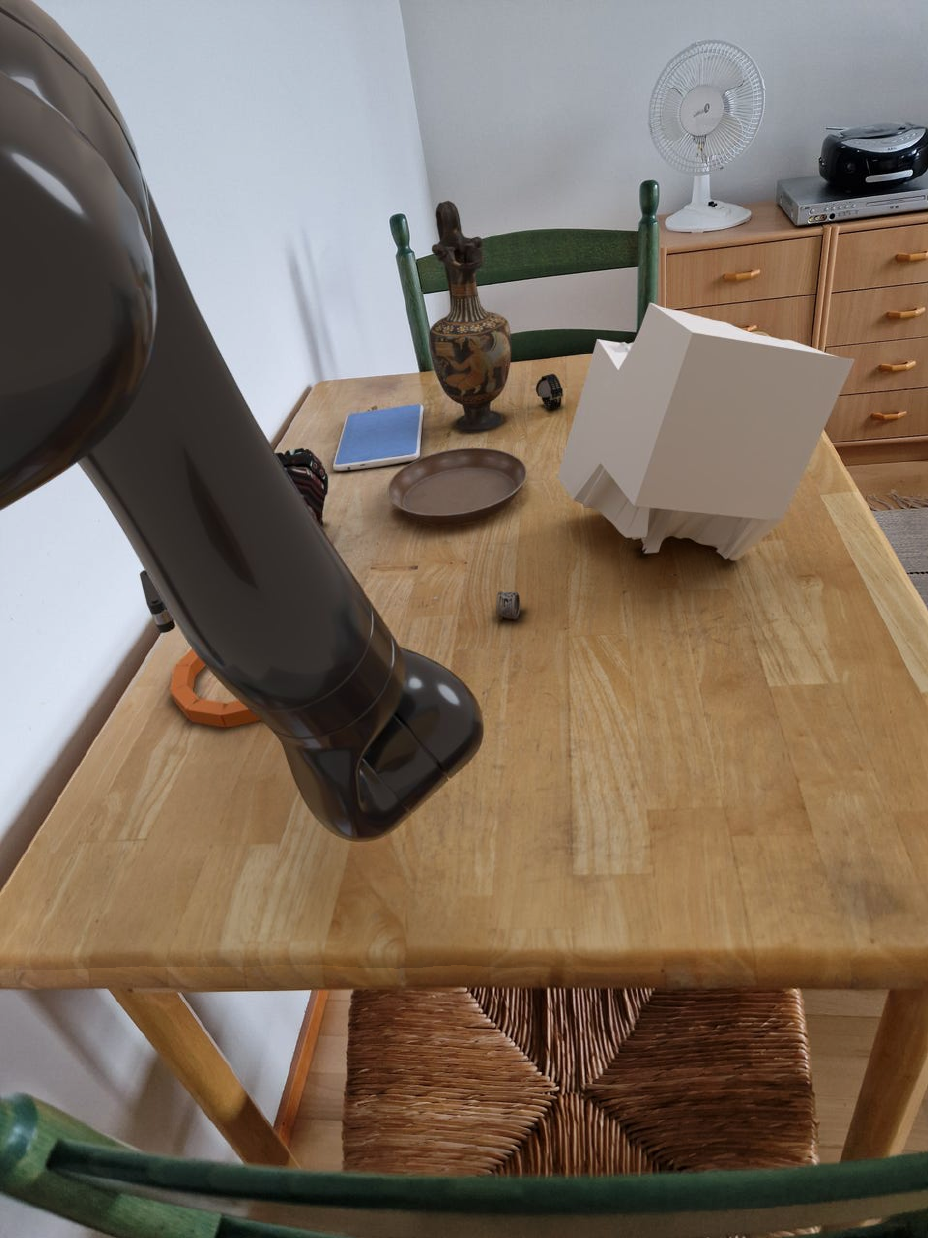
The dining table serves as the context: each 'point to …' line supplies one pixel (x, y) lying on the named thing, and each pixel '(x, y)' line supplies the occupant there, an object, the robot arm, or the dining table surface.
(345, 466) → the tablet
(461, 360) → the vase
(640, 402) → the notched white block
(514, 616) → the decorative ring
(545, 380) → the smartwatch
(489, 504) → the plant saucer
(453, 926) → the dining table surface
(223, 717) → the ring
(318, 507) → the black patterned hollow part
